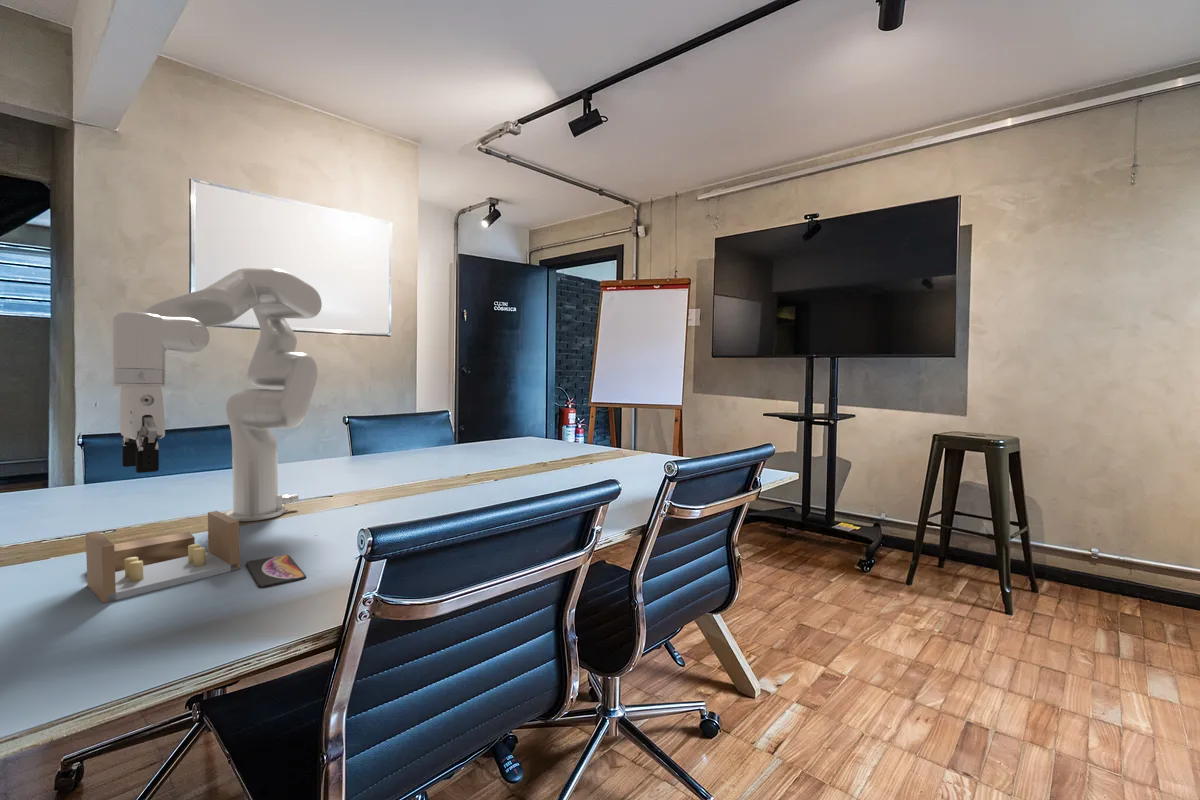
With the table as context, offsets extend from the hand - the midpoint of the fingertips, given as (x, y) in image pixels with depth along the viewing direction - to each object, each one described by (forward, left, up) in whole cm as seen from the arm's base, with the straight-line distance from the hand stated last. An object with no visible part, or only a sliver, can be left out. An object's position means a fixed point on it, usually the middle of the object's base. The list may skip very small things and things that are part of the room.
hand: (140, 468), depth 102 cm
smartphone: (-14, +24, -18) cm, 33 cm away
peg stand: (0, +13, -18) cm, 22 cm away
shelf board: (0, +1, -18) cm, 18 cm away
